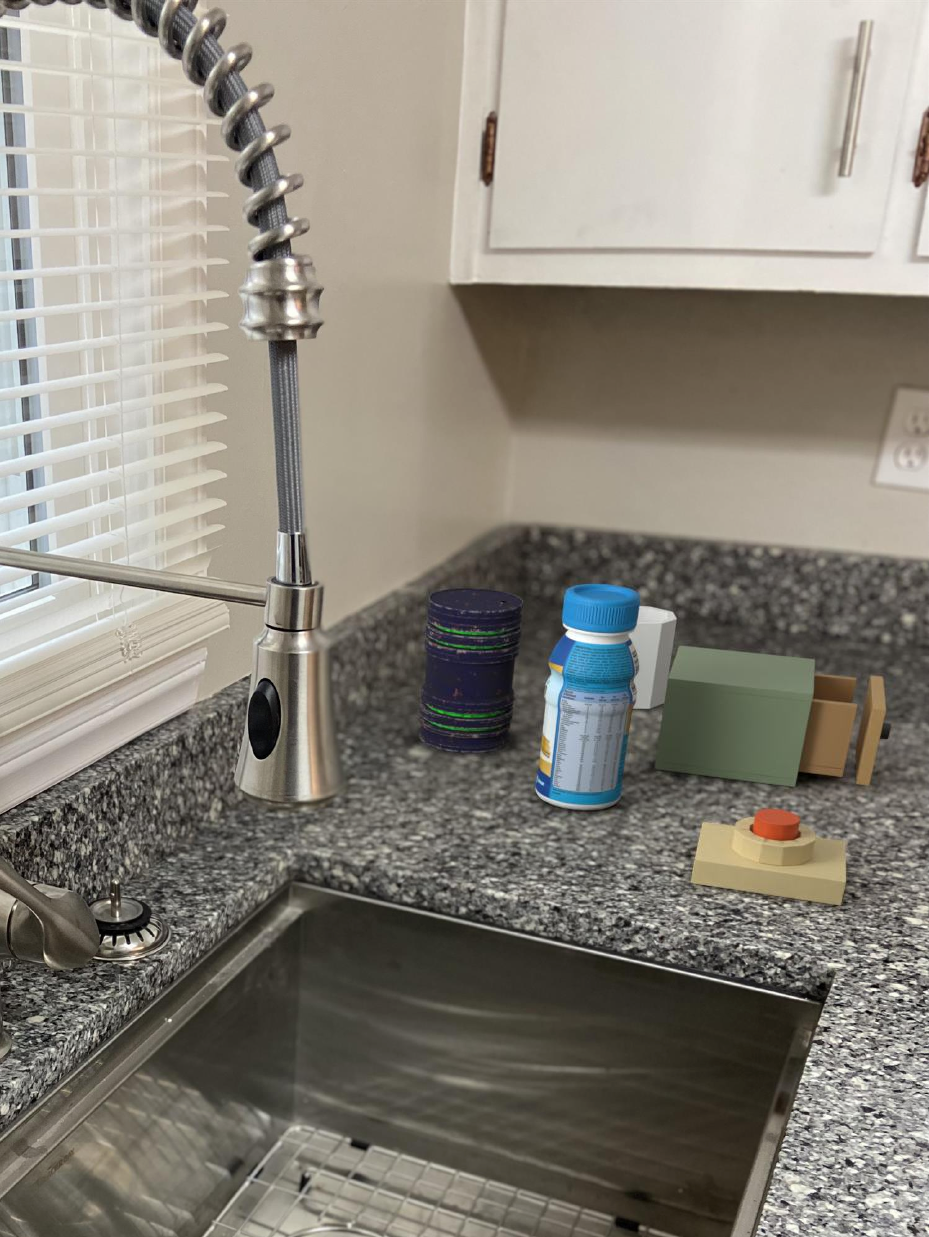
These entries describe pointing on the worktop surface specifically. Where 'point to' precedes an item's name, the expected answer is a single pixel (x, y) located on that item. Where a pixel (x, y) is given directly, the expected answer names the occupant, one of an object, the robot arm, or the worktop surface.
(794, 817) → the button
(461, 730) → the storage jar
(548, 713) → the beverage bottle
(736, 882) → the control block
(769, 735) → the cabinet
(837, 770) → the drawer
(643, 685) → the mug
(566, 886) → the worktop surface
